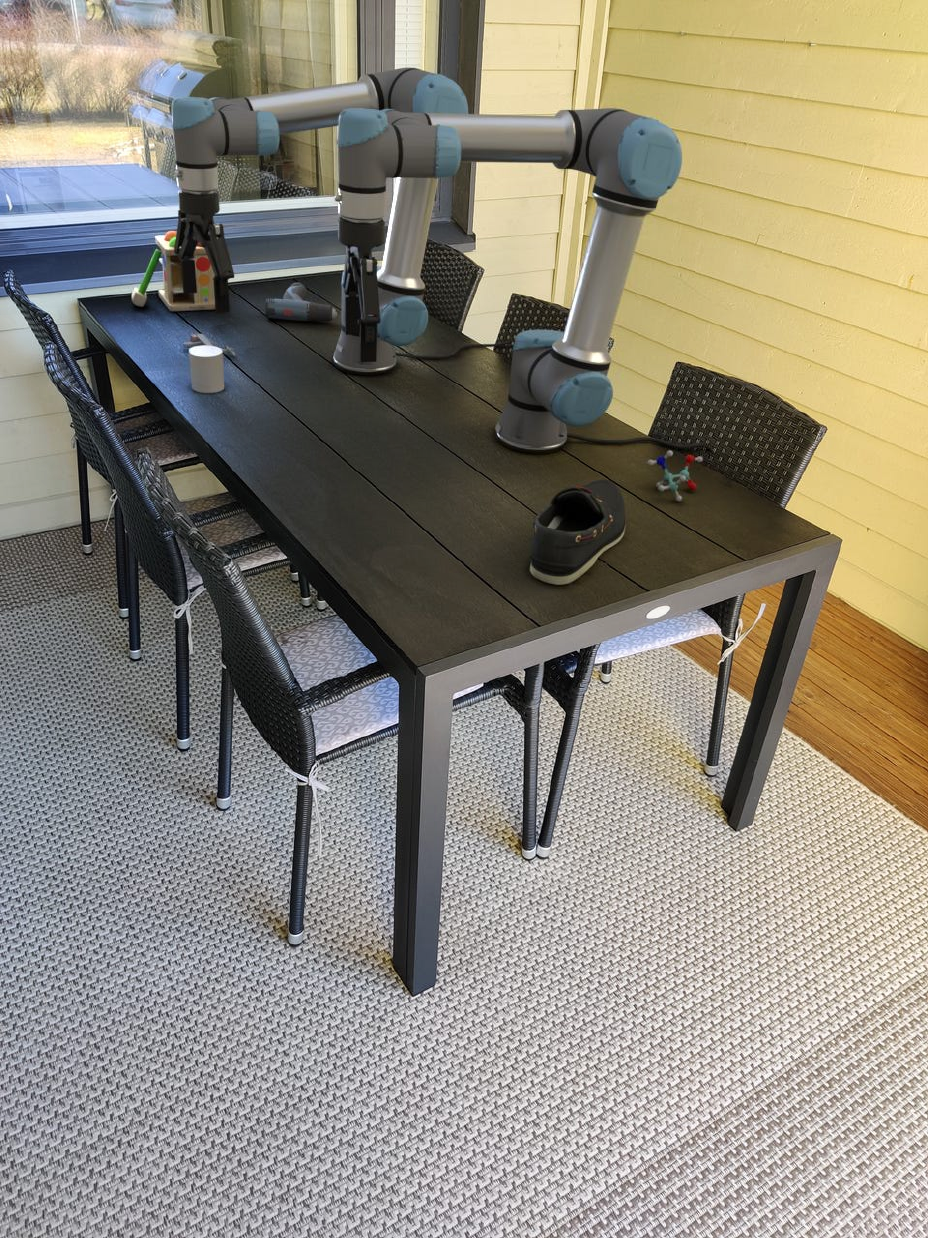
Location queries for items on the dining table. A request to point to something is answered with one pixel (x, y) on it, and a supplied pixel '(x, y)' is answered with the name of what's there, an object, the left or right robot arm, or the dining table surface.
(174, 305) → the pounding bench toy
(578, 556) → the boat shoe
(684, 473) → the molecular model
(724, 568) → the dining table surface
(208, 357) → the can
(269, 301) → the power drill
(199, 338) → the clamp
